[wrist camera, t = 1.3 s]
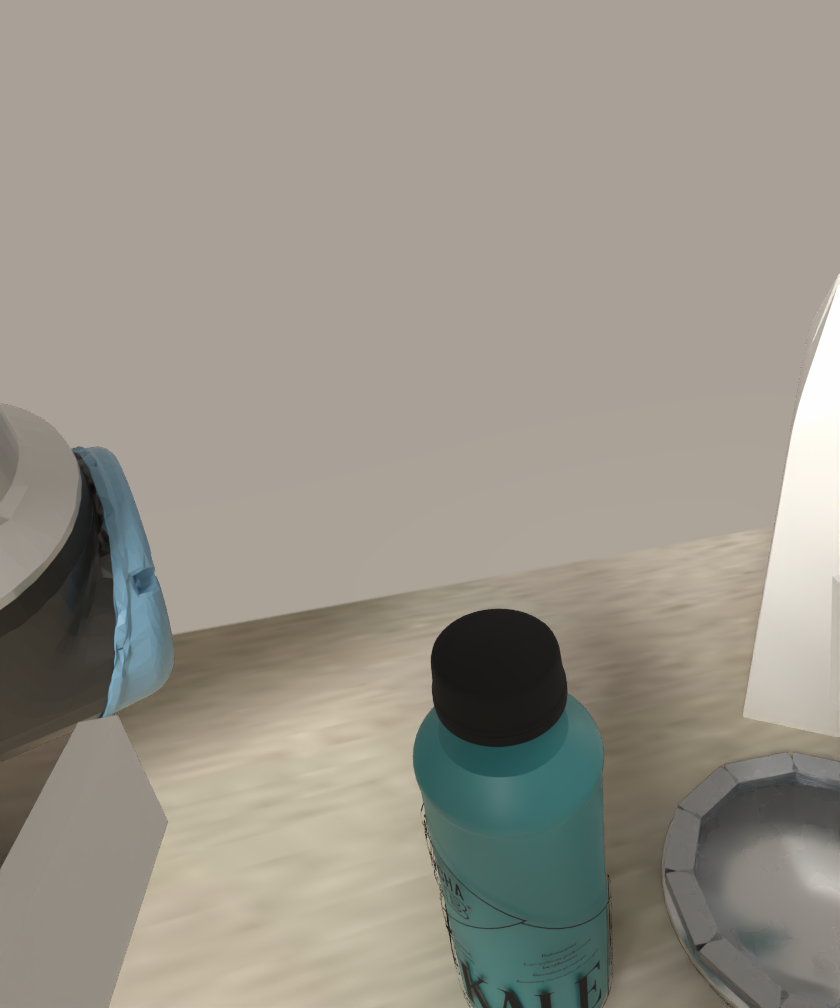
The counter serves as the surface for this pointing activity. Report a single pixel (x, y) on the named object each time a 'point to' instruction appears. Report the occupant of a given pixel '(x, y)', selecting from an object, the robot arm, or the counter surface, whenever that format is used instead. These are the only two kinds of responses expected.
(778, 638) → the milk
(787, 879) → the grey round plate
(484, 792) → the beverage bottle
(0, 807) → the counter surface
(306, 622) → the counter surface
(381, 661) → the counter surface
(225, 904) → the counter surface
